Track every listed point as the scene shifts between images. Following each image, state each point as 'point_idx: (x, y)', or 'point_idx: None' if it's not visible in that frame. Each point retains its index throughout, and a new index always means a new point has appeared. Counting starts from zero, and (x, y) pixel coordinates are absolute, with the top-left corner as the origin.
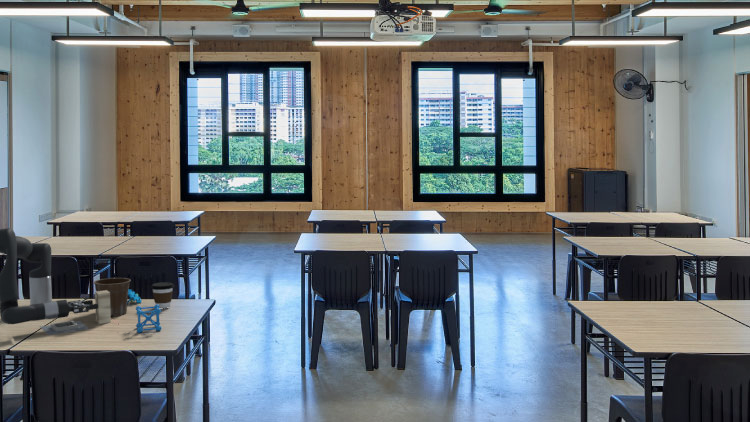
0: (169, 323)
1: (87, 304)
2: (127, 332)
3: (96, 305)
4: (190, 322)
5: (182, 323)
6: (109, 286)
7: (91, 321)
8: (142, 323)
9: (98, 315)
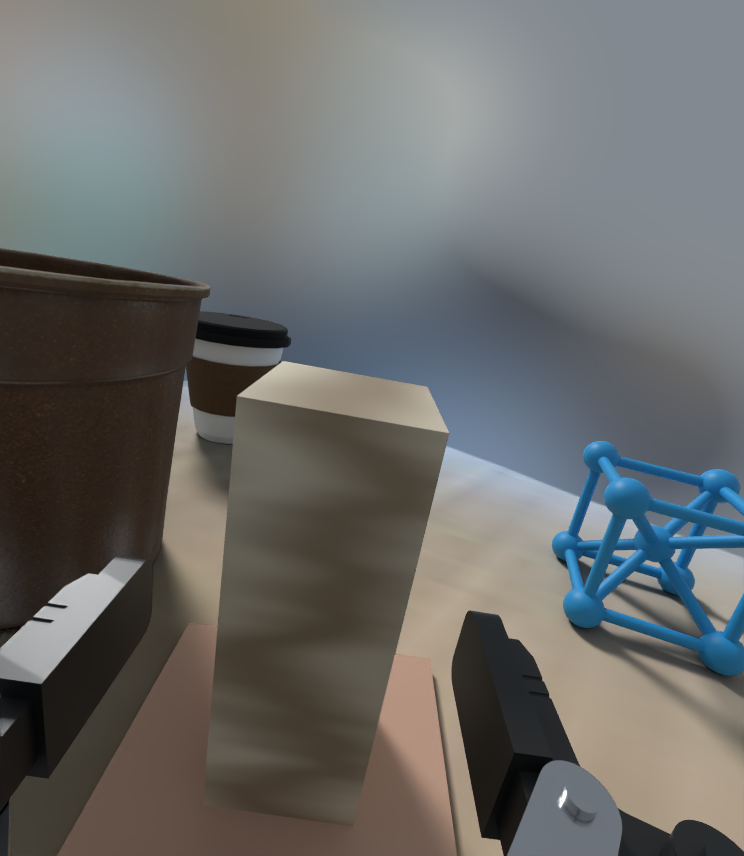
0: (521, 517)
1: (97, 682)
2: (705, 724)
3: (527, 654)
4: (534, 486)
5: (541, 500)
6: (134, 312)
7: (29, 814)
8: (615, 587)
9: (355, 734)
